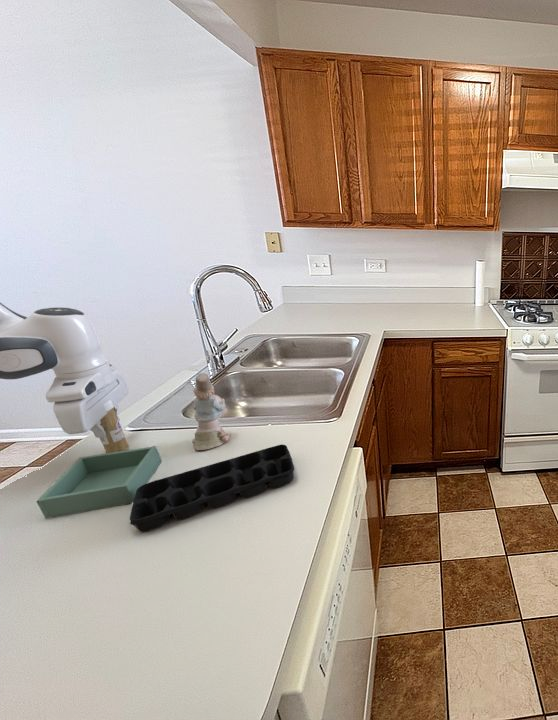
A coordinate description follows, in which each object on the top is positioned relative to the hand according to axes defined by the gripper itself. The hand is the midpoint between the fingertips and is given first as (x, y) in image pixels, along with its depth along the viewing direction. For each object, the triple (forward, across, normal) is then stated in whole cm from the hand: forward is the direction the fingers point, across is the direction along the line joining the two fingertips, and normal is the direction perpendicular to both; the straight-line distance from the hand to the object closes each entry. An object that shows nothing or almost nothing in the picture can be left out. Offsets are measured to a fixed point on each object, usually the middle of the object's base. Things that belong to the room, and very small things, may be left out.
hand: (108, 429), depth 95 cm
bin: (+7, +14, +4) cm, 16 cm away
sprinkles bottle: (+6, 0, 0) cm, 6 cm away
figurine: (+7, +1, +21) cm, 22 cm away
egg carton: (+7, +23, +28) cm, 37 cm away
